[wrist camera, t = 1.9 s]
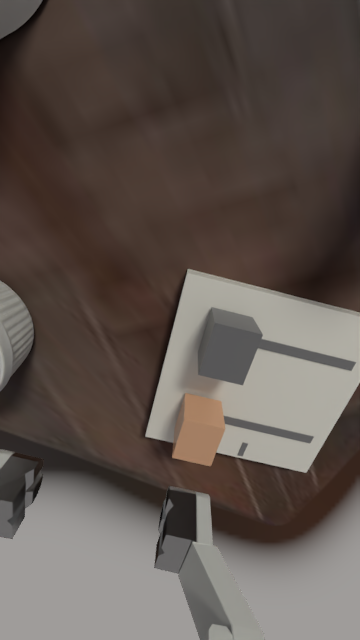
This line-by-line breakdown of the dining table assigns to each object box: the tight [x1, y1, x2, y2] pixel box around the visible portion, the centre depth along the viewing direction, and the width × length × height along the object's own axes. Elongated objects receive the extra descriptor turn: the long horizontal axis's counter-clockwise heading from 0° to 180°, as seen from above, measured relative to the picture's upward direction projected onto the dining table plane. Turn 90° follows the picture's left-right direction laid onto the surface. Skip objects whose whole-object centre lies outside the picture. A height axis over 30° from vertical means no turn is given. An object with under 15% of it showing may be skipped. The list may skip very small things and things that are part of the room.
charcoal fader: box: [198, 307, 263, 385], centre depth 24 cm, size 4×5×4 cm
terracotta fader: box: [172, 393, 225, 466], centre depth 27 cm, size 4×5×4 cm
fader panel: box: [145, 269, 360, 473], centre depth 29 cm, size 20×20×2 cm
